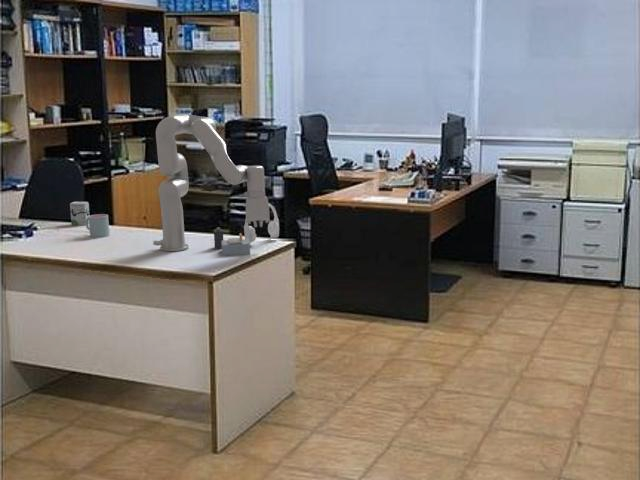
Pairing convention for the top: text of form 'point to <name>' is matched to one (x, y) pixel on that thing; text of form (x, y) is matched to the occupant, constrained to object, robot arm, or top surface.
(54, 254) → the top surface
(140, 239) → the top surface
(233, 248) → the socket
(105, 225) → the mug
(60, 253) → the top surface
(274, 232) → the headset
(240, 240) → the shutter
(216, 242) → the plug
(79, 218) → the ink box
